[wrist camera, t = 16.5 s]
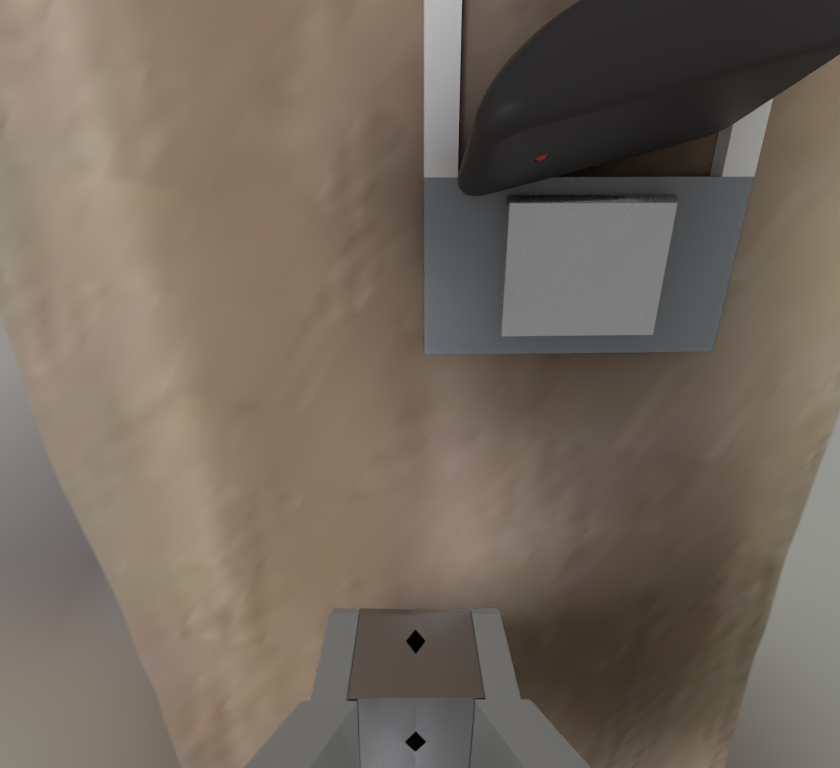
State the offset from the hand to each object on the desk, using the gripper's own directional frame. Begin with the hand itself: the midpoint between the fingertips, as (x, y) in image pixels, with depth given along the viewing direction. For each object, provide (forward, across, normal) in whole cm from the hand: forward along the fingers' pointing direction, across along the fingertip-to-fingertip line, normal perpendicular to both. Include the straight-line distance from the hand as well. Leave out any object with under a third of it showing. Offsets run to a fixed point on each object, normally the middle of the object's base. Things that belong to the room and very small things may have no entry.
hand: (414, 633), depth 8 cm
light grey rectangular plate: (+22, -11, -5) cm, 25 cm away
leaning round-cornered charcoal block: (+22, -10, -12) cm, 27 cm away
